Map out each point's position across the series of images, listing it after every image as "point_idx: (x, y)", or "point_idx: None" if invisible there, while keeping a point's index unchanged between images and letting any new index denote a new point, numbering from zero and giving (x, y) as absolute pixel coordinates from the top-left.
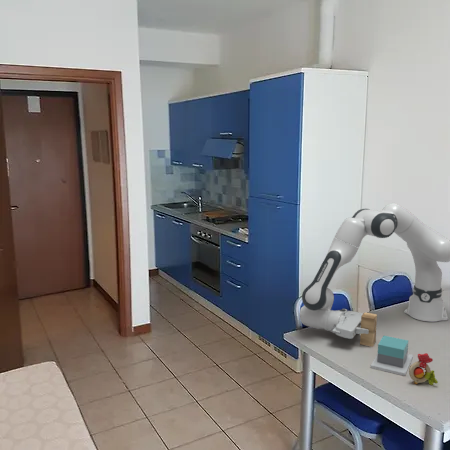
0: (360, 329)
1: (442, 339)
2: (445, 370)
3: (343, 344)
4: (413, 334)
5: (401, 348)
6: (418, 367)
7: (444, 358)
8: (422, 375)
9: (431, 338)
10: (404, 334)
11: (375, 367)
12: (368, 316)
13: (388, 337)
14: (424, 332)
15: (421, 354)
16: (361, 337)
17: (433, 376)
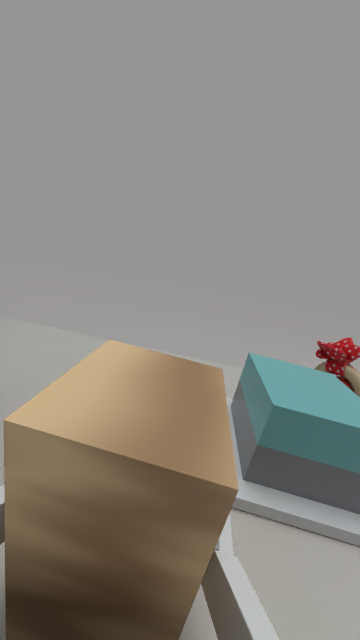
0: (268, 621)
1: (71, 334)
2: (228, 365)
3: None
4: (17, 365)
5: (329, 376)
6: (346, 379)
7: (174, 354)
8: None
9: (61, 344)
10: (6, 384)
11: None
12: (188, 395)
13: (278, 391)
14: (11, 344)
15: (336, 348)
16: None
17: None
